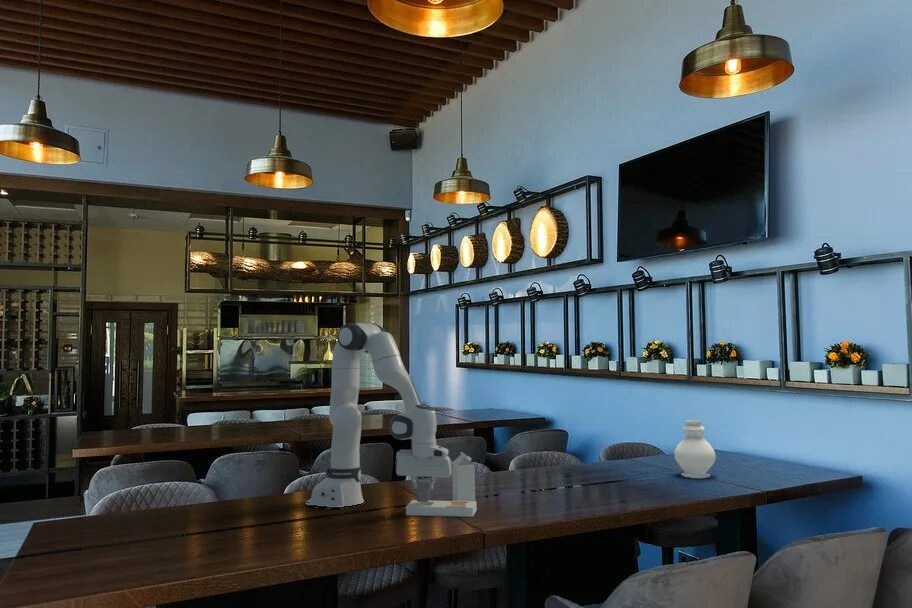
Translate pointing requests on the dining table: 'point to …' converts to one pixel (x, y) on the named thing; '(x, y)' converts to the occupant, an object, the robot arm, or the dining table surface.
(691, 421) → the decorative vase
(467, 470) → the milk carton
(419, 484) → the dark gray block
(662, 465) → the dining table surface
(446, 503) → the socket rail
